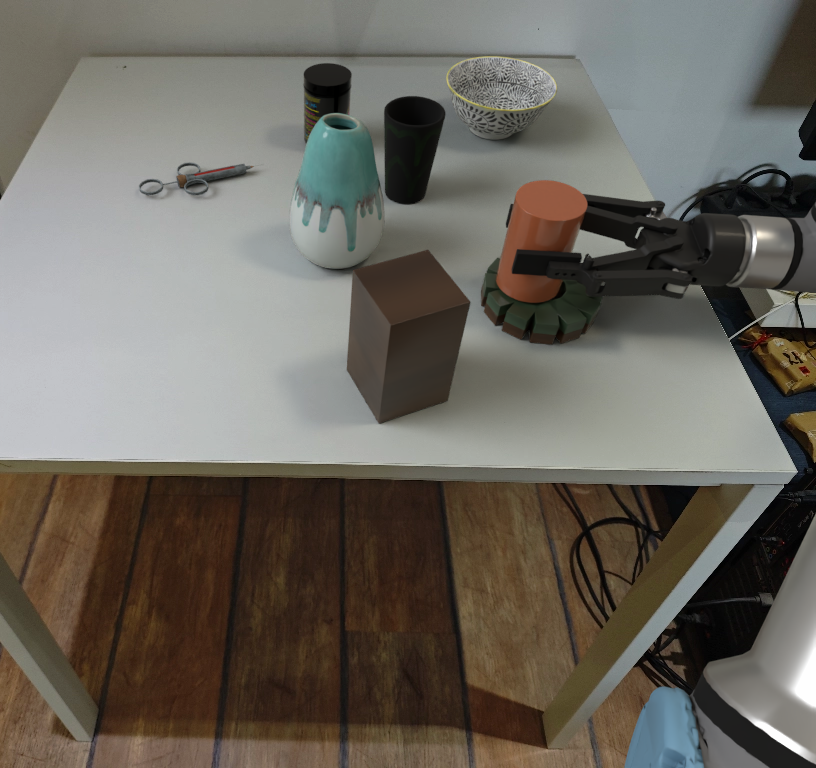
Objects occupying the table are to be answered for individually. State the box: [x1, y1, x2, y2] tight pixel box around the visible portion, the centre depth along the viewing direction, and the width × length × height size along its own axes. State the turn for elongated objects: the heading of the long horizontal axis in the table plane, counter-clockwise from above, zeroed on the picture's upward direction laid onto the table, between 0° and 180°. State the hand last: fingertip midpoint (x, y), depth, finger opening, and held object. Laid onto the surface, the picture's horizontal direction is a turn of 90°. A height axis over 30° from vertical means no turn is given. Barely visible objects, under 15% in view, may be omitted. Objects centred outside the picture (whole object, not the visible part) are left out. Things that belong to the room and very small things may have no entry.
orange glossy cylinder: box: [496, 179, 587, 303], centre depth 78 cm, size 7×7×11 cm
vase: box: [288, 113, 385, 270], centre depth 84 cm, size 12×12×18 cm
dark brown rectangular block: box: [346, 249, 472, 424], centre depth 71 cm, size 8×8×14 cm
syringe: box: [138, 161, 265, 197], centre depth 101 cm, size 8×18×2 cm, turn 110°
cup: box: [383, 95, 446, 205], centre depth 95 cm, size 8×8×12 cm
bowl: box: [445, 55, 558, 141], centre depth 108 cm, size 16×16×8 cm
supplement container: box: [302, 62, 353, 145], centre depth 104 cm, size 7×7×10 cm
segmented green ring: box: [480, 257, 604, 346], centre depth 83 cm, size 13×13×3 cm
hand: (511, 238), depth 78 cm, fingers closed on orange glossy cylinder, 7 cm apart
